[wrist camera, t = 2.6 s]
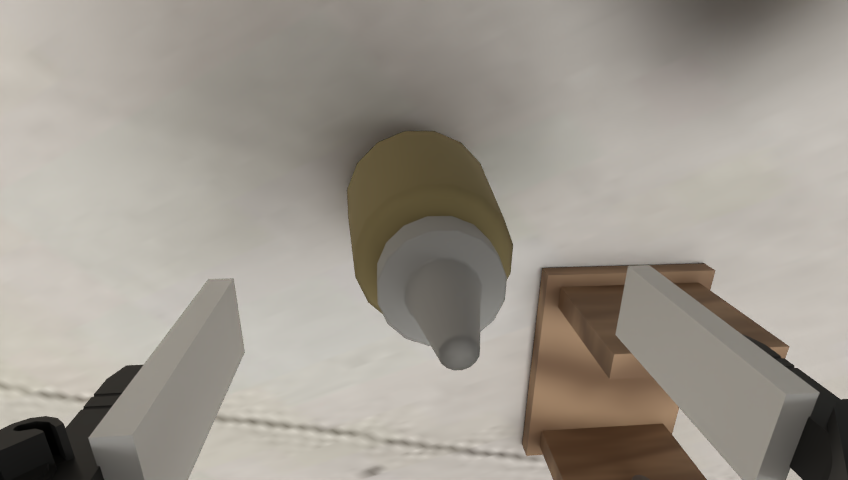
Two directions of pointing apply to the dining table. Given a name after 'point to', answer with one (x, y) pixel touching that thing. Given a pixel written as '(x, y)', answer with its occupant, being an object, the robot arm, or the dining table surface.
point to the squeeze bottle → (429, 242)
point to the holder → (608, 379)
